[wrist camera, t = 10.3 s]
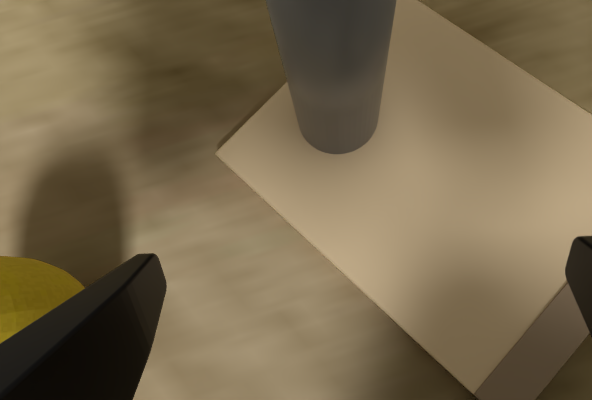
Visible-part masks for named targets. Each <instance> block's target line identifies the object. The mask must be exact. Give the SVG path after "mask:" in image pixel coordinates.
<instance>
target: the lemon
mask: <svg viewBox="0 0 592 400" xmlns="http://www.w3.org/2000/svg"><path fill="white" fill-rule="evenodd" d="M83 289H85V288H84V286H83V285H82V284H81V283H80V282H79V281H78V280H76V279H75V278H74V277H73V276H71V275H70V274H69V273H67V272H66V271H64V270H62V269H60V268H58V267H55V266H53V265H50V264H48V263H45V262H42V261H39V260H35V259H31V258H21V257H8V256H0V343H2V342H3V341H5V340H6V339H8V338H9V337H11V336H12V335H14V334H16V333H17V332H19V331H20V330H22V329H23V328H25V327H26V326H28V325H29V324H31V323H32V322H34V321H36V320H37V319H39V318H40V317H42V316H43V315H45V314H46V313H48V312H49V311H51V310H52V309H54V308H56V307H57V306H59V305H60V304H62V303H63V302H65V301H66V300H68V299H69V298H71V297H72V296H74V295H76V294H77V293H79V292H80V291H82V290H83Z"/></svg>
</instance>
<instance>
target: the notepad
mask: <svg viewBox="0 0 592 400" xmlns="http://www.w3.org/2000/svg"><path fill="white" fill-rule="evenodd" d="M215 154H216V155H217V157H218V158H219V159H220V160H221V161H222V162H224V163H225V164H226V165H227V166H228V167H229V168H230V169H231V170H232V171H233V172H234V173H235V174H236V175H238V176H239V177H240V178H241V179H242V180H243V181H244V182H245V183H246V184H247V185H248V186H249V187H250V188H252V189H253V190H254V191H255V192H256V193H257V194H258V195H259V196H260V197H261V198H262V199H263V200H264V201H265V202H267V203H268V204H269V205H270V206H271V207H272V208H273V209H274V210H275V211H276V212H277V213H278V214H279V215H281V216H282V217H283V218H284V219H285V220H286V221H287V222H288V223H289V224H290V225H291V226H292V227H293V228H294V229H296V230H297V231H298V232H299V233H300V234H301V235H302V236H303V237H304V238H305V239H306V240H307V241H308V242H310V243H311V244H312V245H313V246H314V247H315V248H316V249H317V250H318V251H319V252H320V253H321V254H322V255H323V256H325V257H326V258H327V259H328V260H329V261H330V262H331V263H332V264H333V265H334V266H335V267H336V268H337V269H339V270H340V271H341V272H342V273H343V274H344V275H345V276H346V277H347V278H348V279H349V280H350V281H351V282H353V283H354V284H355V285H356V286H357V287H358V288H359V289H360V290H361V291H362V292H363V293H364V294H365V295H366V296H368V297H369V298H370V299H371V300H372V301H373V302H374V303H375V304H376V305H377V306H378V307H379V308H380V309H382V310H383V311H384V312H385V313H386V314H387V315H388V316H389V317H390V318H391V319H392V320H393V321H394V322H395V323H397V324H398V325H399V326H400V327H401V328H402V329H403V330H404V331H405V332H406V333H407V334H408V335H409V336H411V337H412V338H413V339H414V340H415V341H416V342H417V343H418V344H419V345H420V346H421V347H422V348H423V349H424V350H426V351H427V352H428V353H429V354H430V355H431V356H432V357H433V358H434V359H435V360H436V361H437V362H438V363H440V364H441V365H442V366H443V367H444V368H445V369H446V370H447V371H448V372H449V373H450V374H451V375H452V376H454V377H455V378H456V379H457V380H458V381H459V382H460V383H461V384H462V385H463V386H464V387H465V388H466V389H467V390H469V391H470V392H471V393H472V394H473V395H474V396H475V397H476V398H477V399H478V400H535V399H536V398H537V397H538V396H539V394H540V393H541V392H542V391H543V390H544V388H545V387H546V386H547V385H548V383H549V382H550V381H551V380H552V379H553V377H554V376H555V375H556V374H557V372H558V371H559V370H560V369H561V368H562V366H563V365H564V364H565V363H566V361H567V360H568V359H569V358H570V357H571V355H572V354H573V353H574V352H575V350H576V349H577V348H578V347H579V346H580V344H581V343H582V342H583V341H584V339H585V338H586V337H587V336H588V334H589V333H590V332H589V330H588V328H587V326H586V323H585V321H584V319H583V316H582V314H581V312H580V309H579V307H578V305H577V303H576V300H575V298H574V296H573V293H572V291H571V289H570V286H569V284H568V282H567V279H566V276H565V267H566V263H567V259H568V256H569V252H570V248H571V245H572V242H573V240H574V239H575V238H576V237H578V236H592V115H591V114H590V113H588V112H587V111H585V110H584V109H582V108H581V107H579V106H578V105H576V104H575V103H573V102H571V101H570V100H568V99H567V98H565V97H564V96H562V95H561V94H559V93H558V92H556V91H555V90H553V89H552V88H550V87H549V86H547V85H546V84H544V83H543V82H541V81H540V80H538V79H537V78H535V77H534V76H532V75H530V74H529V73H527V72H526V71H524V70H523V69H521V68H520V67H518V66H517V65H515V64H514V63H512V62H511V61H509V60H508V59H506V58H505V57H503V56H502V55H500V54H499V53H497V52H496V51H494V50H493V49H491V48H489V47H488V46H486V45H485V44H483V43H482V42H480V41H479V40H477V39H476V38H474V37H473V36H471V35H470V34H468V33H467V32H465V31H464V30H462V29H461V28H459V27H458V26H456V25H455V24H453V23H452V22H450V21H449V20H447V19H445V18H444V17H442V16H441V15H439V14H438V13H436V12H435V11H433V10H432V9H430V8H429V7H427V6H426V5H424V4H423V3H421V2H420V1H418V0H397V1H396V7H395V14H394V20H393V27H392V33H391V39H390V46H389V52H388V59H387V65H386V72H385V78H384V84H383V91H382V97H381V104H380V110H379V117H378V123H377V127H376V130H375V132H374V134H373V135H372V137H371V138H370V139H369V141H368V142H367V143H366V144H364V145H363V146H362V147H360V148H359V149H357V150H355V151H352V152H349V153H345V154H329V153H325V152H322V151H319V150H317V149H316V148H314V147H313V146H311V145H310V144H309V143H308V142H307V141H306V139H305V138H304V137H303V135H302V133H301V131H300V128H299V124H298V120H297V116H296V112H295V109H294V105H293V101H292V97H291V94H290V90H289V86H288V82H286V83H285V84H284V85H283V86H282V87H281V88H280V89H279V90H278V91H277V92H276V93H275V94H274V95H273V96H272V97H271V98H270V99H269V100H268V101H267V102H266V103H265V104H264V105H263V106H262V107H261V108H260V109H259V110H258V111H257V112H256V113H255V114H254V115H253V116H252V117H251V118H250V119H249V120H248V121H247V122H246V123H245V124H244V125H243V126H242V127H241V128H240V129H239V130H238V131H237V132H236V133H235V134H234V135H233V136H232V137H231V138H230V139H229V140H228V141H227V142H226V143H225V144H224V145H223V146H222V147H221V148H220V149H219V150H218V151H217V152H216V153H215Z"/></svg>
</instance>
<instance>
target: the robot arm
mask: <svg viewBox="0 0 592 400" xmlns="http://www.w3.org/2000/svg"><path fill="white" fill-rule="evenodd" d="M565 276H566V279H567V282H568V284H569V286H570V289H571V291H572V293H573V296H574V298H575V300H576V303H577V305H578V307H579V309H580V312H581V314H582V316H583V319H584V321H585V323H586V326H587V328H588V330H589V332H590V335H591V337H592V236H578V237H576V238H575V239H574V240H573V242H572V245H571V248H570V252H569V256H568V259H567V263H566V267H565ZM165 294H166V279H165V276H164V273H163V270H162V267H161V264H160V261H159V258H158V256H157V255H156V254H153V253H150V254H137V255H136V256H134V257H132V258H131V259H129V260H128V261H126V262H125V263H123V264H122V265H120V266H119V267H117V268H116V269H114V270H112V271H111V272H109V273H108V274H106V275H105V276H103V277H102V278H100V279H99V280H97V281H96V282H94V283H92V284H91V285H89V286H88V287H86V288H85V289H83V290H82V291H80V292H79V293H77V294H76V295H74V296H72V297H71V298H69V299H68V300H66V301H65V302H63V303H62V304H60V305H59V306H57V307H56V308H54V309H52V310H51V311H49V312H48V313H46V314H45V315H43V316H42V317H40V318H39V319H37V320H36V321H34V322H32V323H31V324H29V325H28V326H26V327H25V328H23V329H22V330H20V331H19V332H17V333H16V334H14V335H12V336H11V337H9V338H8V339H6V340H5V341H3V342H2V343H0V400H133V397H134V395H135V392H136V389H137V387H138V384H139V381H140V379H141V376H142V373H143V371H144V368H145V365H146V363H147V360H148V357H149V354H150V351H151V348H152V344H153V341H154V337H155V333H156V329H157V325H158V321H159V317H160V313H161V309H162V305H163V301H164V297H165Z"/></svg>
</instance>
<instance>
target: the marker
mask: <svg viewBox="0 0 592 400" xmlns="http://www.w3.org/2000/svg"><path fill="white" fill-rule="evenodd" d="M396 1H397V0H266V4H267V7H268V11H269V15H270V19H271V22H272V26H273V30H274V34H275V37H276V41H277V45H278V49H279V52H280V56H281V60H282V64H283V67H284V71H285V75H286V79H287V82H288V86H289V90H290V94H291V97H292V101H293V105H294V109H295V112H296V116H297V120H298V124H299V128H300V131H301V133H302V135H303V137H304V138H305V139H306V141H307V142H308V143H309V144H310V145H311V146H313V147H314V148H316V149H317V150H319V151H322V152H325V153H329V154H345V153H349V152H352V151H355V150H357V149H359V148H360V147H362V146H363V145H364V144H366V143H367V142H368V141H369V139H370V138H371V137H372V135H373V134H374V132H375V130H376V127H377V123H378V117H379V110H380V104H381V97H382V91H383V84H384V78H385V72H386V65H387V59H388V52H389V46H390V39H391V33H392V27H393V20H394V14H395V7H396Z"/></svg>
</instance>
